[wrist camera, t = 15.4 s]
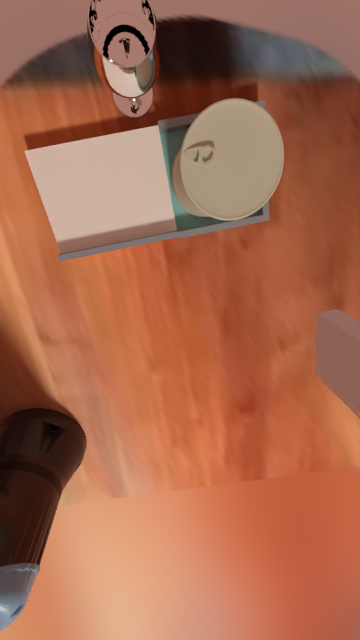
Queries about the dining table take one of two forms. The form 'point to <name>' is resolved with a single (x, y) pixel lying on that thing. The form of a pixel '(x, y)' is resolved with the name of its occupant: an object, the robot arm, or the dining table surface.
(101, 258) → the dining table surface
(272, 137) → the can
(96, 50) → the wineglass
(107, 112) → the dining table surface
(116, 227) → the two-tone serving tray
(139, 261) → the dining table surface
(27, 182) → the dining table surface
